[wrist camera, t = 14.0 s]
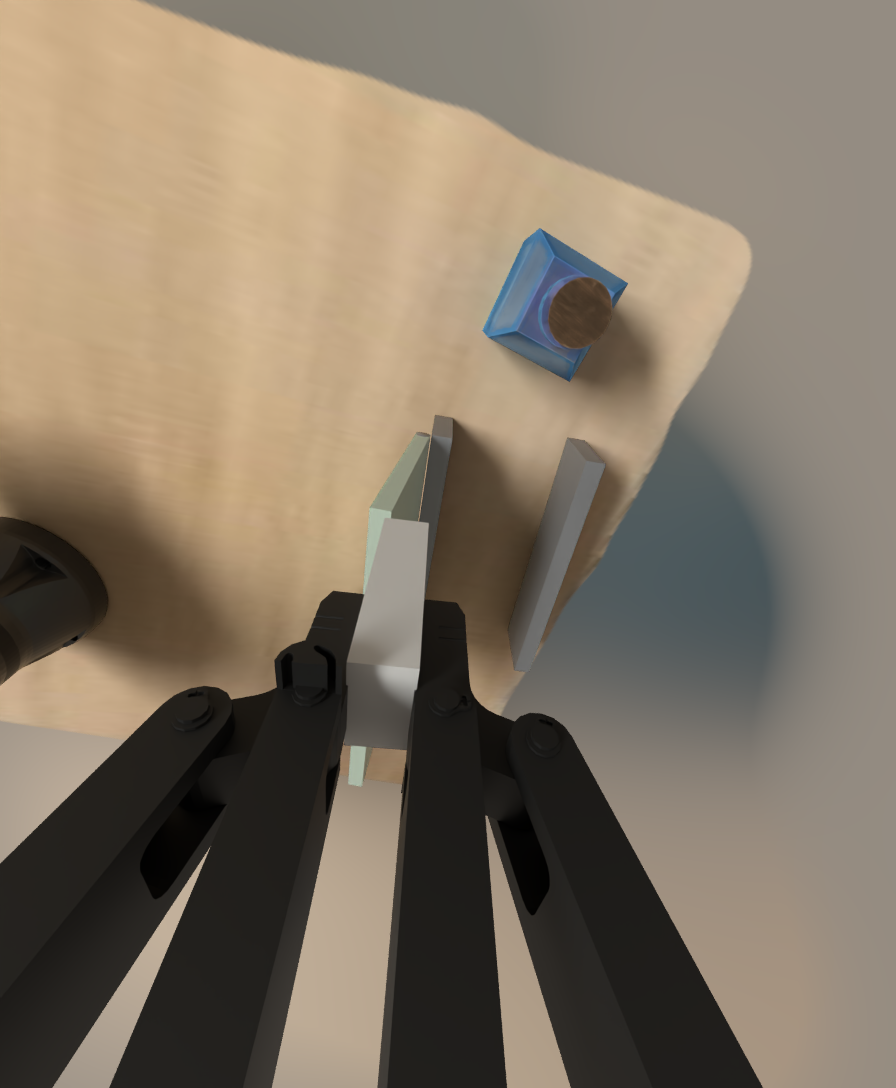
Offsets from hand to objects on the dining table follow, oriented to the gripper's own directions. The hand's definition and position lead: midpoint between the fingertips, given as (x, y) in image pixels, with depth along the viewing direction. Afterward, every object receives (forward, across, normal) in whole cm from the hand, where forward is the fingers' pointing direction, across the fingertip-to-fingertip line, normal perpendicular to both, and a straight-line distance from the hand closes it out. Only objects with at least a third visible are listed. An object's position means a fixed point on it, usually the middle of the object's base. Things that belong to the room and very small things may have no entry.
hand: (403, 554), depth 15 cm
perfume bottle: (+24, +8, +8) cm, 26 cm away
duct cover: (+11, 0, -12) cm, 16 cm away
